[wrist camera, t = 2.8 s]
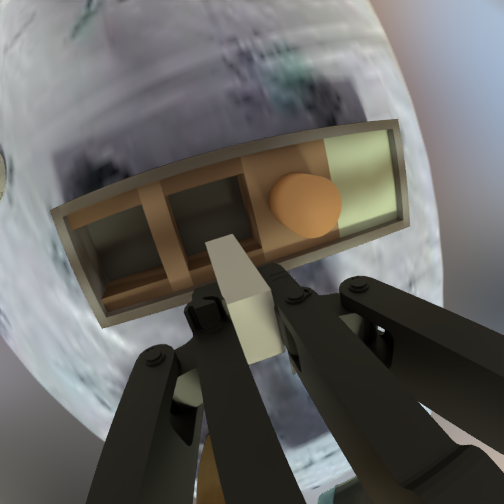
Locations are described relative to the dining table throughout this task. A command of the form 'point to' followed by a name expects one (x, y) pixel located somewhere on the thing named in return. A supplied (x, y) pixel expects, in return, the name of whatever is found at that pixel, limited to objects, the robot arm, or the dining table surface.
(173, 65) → the dining table surface
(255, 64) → the dining table surface
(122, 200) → the track
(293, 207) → the brown egg
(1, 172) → the supplement can
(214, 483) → the plant pot
